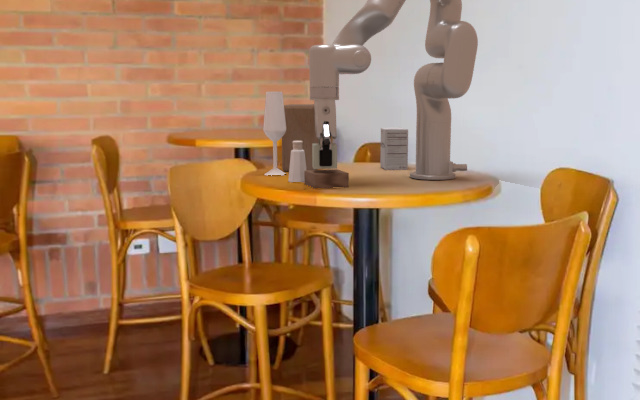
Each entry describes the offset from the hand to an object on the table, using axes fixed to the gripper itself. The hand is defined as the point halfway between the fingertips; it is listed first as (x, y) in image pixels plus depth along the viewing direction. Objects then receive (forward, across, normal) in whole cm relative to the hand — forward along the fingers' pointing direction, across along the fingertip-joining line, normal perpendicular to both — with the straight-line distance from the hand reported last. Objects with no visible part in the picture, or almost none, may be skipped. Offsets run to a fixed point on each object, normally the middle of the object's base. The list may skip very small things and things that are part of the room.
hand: (324, 163), depth 184 cm
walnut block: (+6, 0, 0) cm, 6 cm away
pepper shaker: (+6, +9, +7) cm, 13 cm away
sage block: (+1, 0, 0) cm, 1 cm away
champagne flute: (+6, +25, +13) cm, 29 cm away
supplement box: (+6, +36, -24) cm, 44 cm away
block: (+6, +35, +5) cm, 36 cm away
